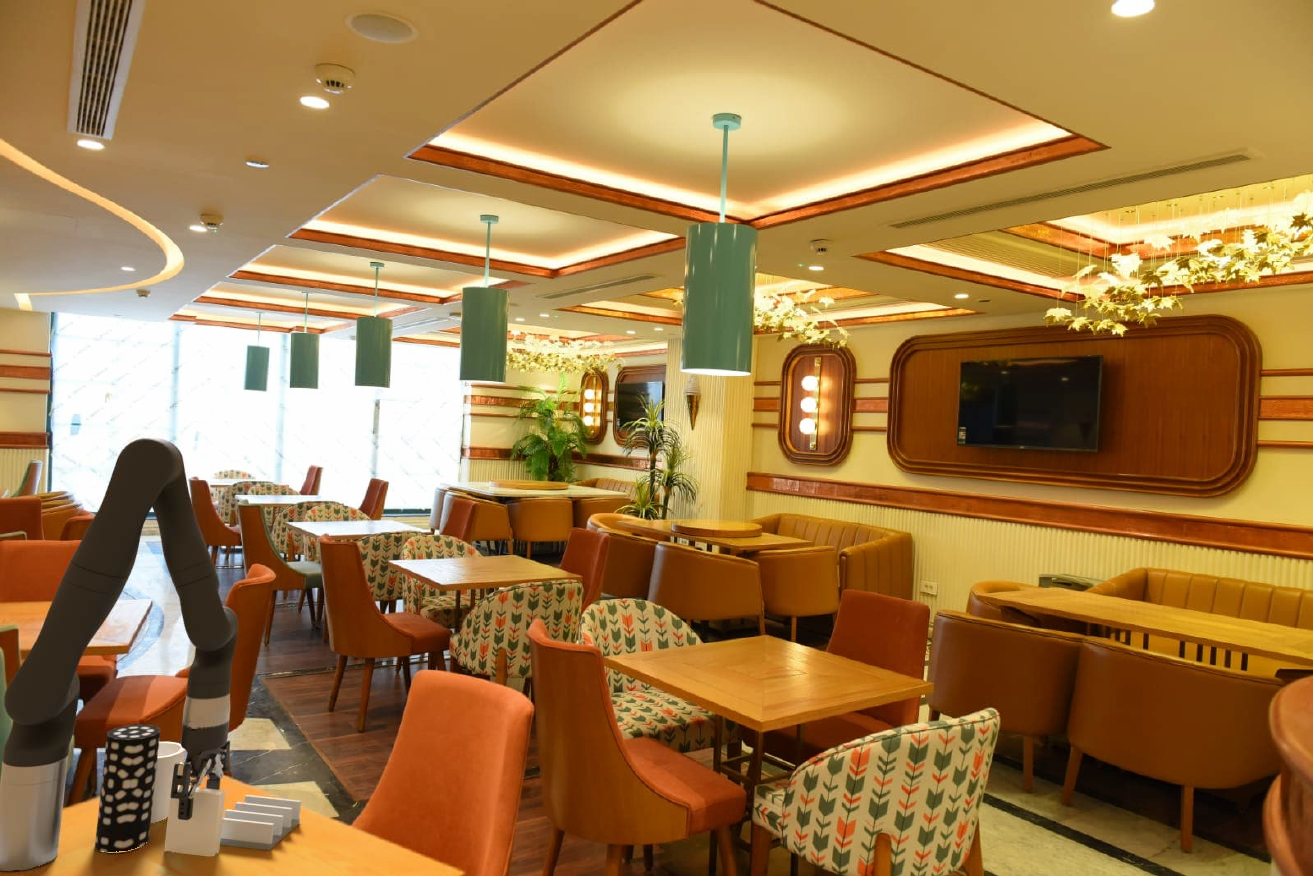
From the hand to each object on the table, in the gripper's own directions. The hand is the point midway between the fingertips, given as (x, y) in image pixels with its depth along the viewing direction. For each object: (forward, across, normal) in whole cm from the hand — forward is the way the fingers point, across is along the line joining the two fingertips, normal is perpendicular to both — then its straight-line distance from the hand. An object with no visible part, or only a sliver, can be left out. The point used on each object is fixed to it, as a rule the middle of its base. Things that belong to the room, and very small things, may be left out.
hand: (198, 809), depth 155 cm
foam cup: (+8, -11, -15) cm, 20 cm away
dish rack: (+8, -9, +7) cm, 14 cm away
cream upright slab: (+8, 0, 0) cm, 8 cm away
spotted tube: (+7, 0, -13) cm, 15 cm away
